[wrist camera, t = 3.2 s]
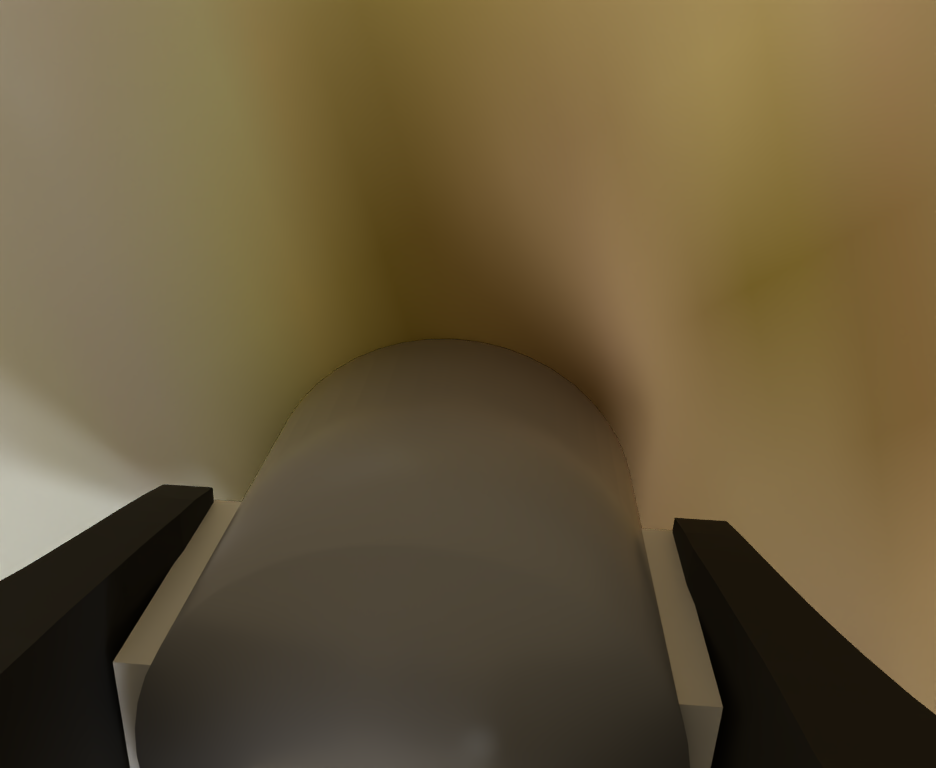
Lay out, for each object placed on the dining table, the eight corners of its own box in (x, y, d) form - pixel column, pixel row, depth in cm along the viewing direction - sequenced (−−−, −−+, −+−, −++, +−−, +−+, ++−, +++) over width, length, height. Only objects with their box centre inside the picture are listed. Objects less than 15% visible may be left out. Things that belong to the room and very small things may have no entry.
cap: (675, 351, 11) (765, 568, 7) (629, 665, 13) (677, 978, 9) (239, 326, 11) (68, 521, 7) (261, 639, 13) (141, 931, 9)
